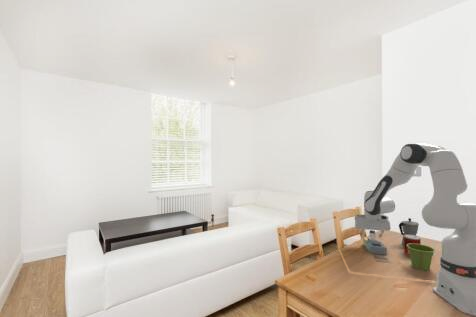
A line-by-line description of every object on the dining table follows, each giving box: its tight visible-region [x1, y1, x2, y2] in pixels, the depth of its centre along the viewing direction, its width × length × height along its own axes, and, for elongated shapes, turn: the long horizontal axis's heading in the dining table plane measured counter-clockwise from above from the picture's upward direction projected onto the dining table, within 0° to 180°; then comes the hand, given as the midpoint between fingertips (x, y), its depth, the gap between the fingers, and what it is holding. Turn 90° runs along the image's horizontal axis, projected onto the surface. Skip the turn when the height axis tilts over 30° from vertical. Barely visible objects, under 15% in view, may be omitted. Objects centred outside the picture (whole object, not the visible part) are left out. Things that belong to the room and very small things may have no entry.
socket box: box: [362, 237, 388, 255], centre depth 145 cm, size 16×9×5 cm, turn 165°
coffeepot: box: [398, 217, 420, 246], centre depth 153 cm, size 15×9×18 cm, turn 103°
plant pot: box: [407, 243, 436, 271], centre depth 121 cm, size 12×12×11 cm
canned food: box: [403, 235, 422, 256], centre depth 138 cm, size 8×8×11 cm
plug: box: [368, 230, 377, 242], centre depth 149 cm, size 4×4×10 cm
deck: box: [370, 253, 391, 264], centre depth 131 cm, size 10×7×1 cm
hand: (372, 236), depth 149 cm, fingers open, 8 cm apart
